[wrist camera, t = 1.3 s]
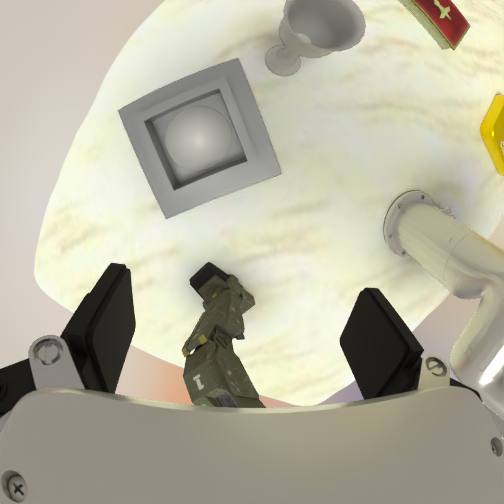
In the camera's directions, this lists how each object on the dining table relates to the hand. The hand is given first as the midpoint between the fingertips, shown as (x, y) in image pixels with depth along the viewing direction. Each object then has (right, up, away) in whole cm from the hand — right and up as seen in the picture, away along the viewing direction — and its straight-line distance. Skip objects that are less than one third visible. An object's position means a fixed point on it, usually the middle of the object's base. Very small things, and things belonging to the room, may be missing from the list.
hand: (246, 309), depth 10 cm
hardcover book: (+31, +49, +14) cm, 60 cm away
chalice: (+5, +29, +20) cm, 36 cm away
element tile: (+57, +29, +26) cm, 69 cm away
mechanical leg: (-4, -5, +36) cm, 37 cm away
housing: (-7, +18, +24) cm, 31 cm away
